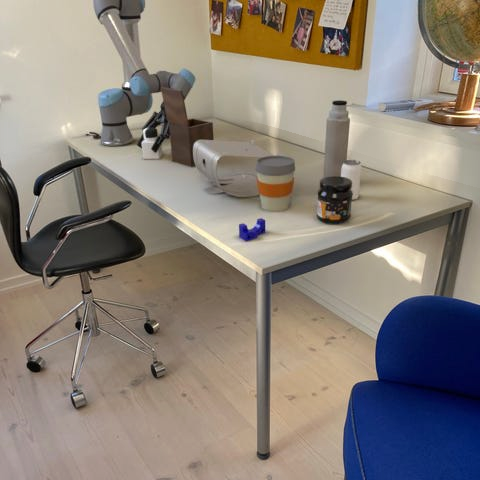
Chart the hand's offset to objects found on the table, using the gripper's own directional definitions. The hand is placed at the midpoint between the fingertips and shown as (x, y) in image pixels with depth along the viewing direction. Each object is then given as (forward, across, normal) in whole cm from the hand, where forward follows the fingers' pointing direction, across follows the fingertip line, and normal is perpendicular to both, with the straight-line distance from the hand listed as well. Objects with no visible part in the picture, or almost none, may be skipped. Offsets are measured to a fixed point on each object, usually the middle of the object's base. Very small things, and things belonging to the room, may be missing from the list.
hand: (146, 148), depth 223 cm
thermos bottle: (-16, -80, -22) cm, 85 cm away
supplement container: (+4, -102, -1) cm, 102 cm away
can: (-9, -94, -15) cm, 96 cm away
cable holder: (+23, -93, +17) cm, 97 cm away
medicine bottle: (+1, 0, -5) cm, 5 cm away
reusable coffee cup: (+7, -81, +1) cm, 81 cm away
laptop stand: (+4, -57, -2) cm, 57 cm away
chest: (-5, -18, -11) cm, 22 cm away
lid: (-16, -18, +10) cm, 26 cm away
